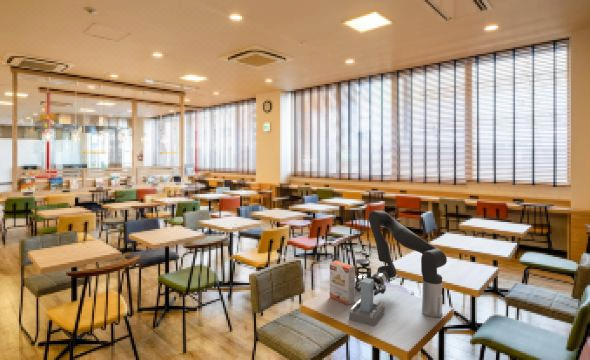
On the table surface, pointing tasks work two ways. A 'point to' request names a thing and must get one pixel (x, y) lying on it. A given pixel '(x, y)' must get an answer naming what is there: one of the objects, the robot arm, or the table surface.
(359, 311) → the stand
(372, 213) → the robot arm
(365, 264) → the french press
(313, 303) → the table surface
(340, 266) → the cracker box
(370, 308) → the light blue rectangular block
